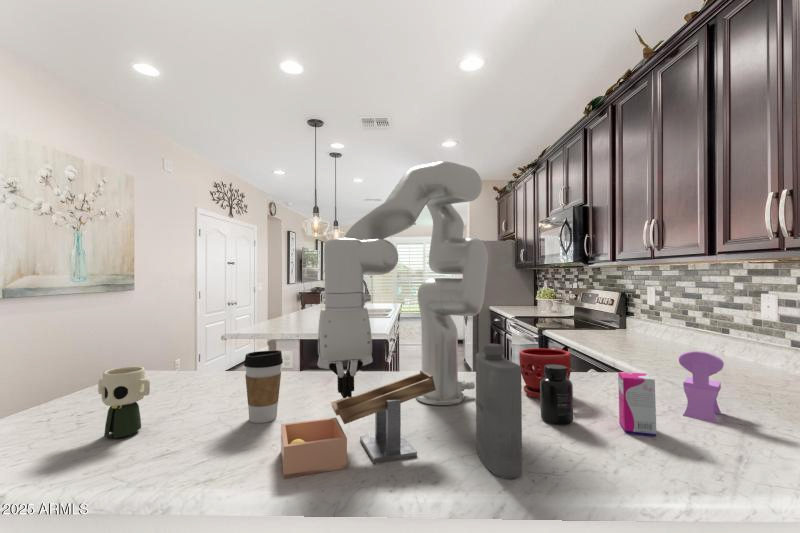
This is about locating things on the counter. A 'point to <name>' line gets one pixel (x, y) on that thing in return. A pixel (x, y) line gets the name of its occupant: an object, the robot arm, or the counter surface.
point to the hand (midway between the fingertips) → (346, 395)
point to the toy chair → (701, 384)
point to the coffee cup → (263, 384)
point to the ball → (297, 441)
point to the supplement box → (637, 403)
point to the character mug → (123, 399)
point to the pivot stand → (388, 436)
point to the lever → (383, 397)
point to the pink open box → (313, 447)
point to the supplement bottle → (556, 396)
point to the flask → (498, 412)
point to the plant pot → (540, 366)
